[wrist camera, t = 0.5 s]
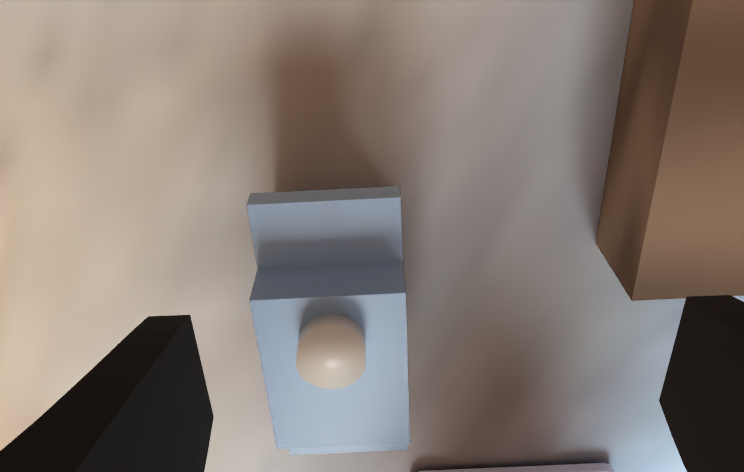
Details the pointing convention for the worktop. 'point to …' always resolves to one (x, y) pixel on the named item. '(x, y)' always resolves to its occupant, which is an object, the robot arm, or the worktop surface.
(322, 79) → the worktop surface
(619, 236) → the board
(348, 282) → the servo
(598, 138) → the worktop surface
